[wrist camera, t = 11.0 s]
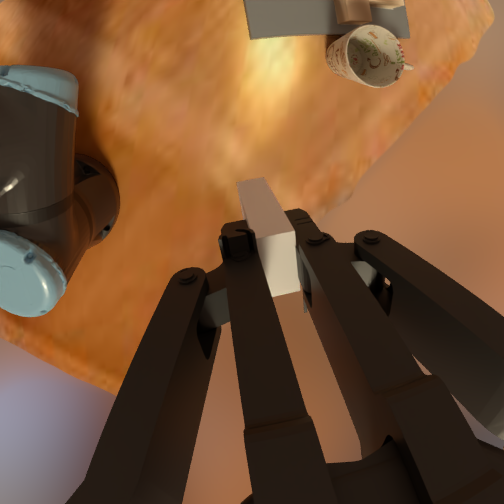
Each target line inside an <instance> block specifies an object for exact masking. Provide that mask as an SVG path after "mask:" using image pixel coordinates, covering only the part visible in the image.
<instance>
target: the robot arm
mask: <svg viewBox="0 0 504 504" xmlns="http://www.w3.org/2000/svg"><path fill="white" fill-rule="evenodd" d="M78 89H79V86H78V81H77V79H76V77H75V76H74V75H73V74H72V73H70V72H68V71H65V70H61V69H56V68H50V67H42V66H30V65H12V66H8V65H5V66H0V307H1V308H3V309H4V310H6V311H8V312H10V313H13V314H16V315H19V316H24V317H37V316H41V315H44V314H46V313H47V312H49V311H50V310H51V309H52V308H53V307H54V306H55V304H56V303H57V302H58V300H59V299H60V297H61V296H63V294H64V293H65V290H66V287H67V284H68V282H69V280H70V278H71V277H72V275H73V273H74V271H75V269H76V267H77V266H78V264H79V262H80V260H81V258H82V257H83V255H84V253H85V251H86V250H87V249H89V248H91V247H93V246H95V245H97V244H98V243H100V242H101V241H102V240H103V239H104V238H106V236H107V235H108V234H109V233H110V231H111V230H112V228H113V226H114V224H115V222H116V220H117V218H118V214H119V209H120V197H119V191H118V188H117V185H116V183H115V180H114V179H113V177H112V175H111V174H110V172H109V171H108V170H107V169H106V168H105V167H104V166H103V165H102V164H101V163H100V162H98V161H97V160H95V159H93V158H91V157H89V156H85V155H81V154H75V134H76V120H77V117H78V116H79V112H78V110H77V104H78ZM237 188H238V193H239V199H240V204H241V210H242V215H243V220H240V221H235V222H231V223H226V224H224V226H223V227H222V229H221V235H220V236H219V239H218V242H219V246H220V250H221V254H222V258H223V263H222V264H221V265H220V266H219V267H218V268H216V269H215V270H213V271H211V272H208V273H205V271H204V270H203V269H201V268H197V267H191V268H185V269H182V270H180V271H178V272H177V273H175V274H174V275H173V276H172V278H171V279H170V281H169V283H168V285H167V287H166V289H165V291H164V293H163V295H162V297H161V299H160V301H159V304H158V306H157V308H156V310H155V312H154V314H153V316H152V318H151V320H150V323H149V325H148V327H147V329H146V331H145V333H144V336H143V338H142V340H141V342H140V344H139V347H138V349H137V351H136V353H135V355H134V358H133V360H132V362H131V364H130V367H129V369H128V371H127V374H126V376H125V378H124V381H123V383H122V385H121V388H120V390H119V392H118V395H117V397H116V400H115V402H114V404H113V407H112V409H111V412H110V414H109V417H108V419H107V422H106V424H105V427H104V429H103V432H102V434H101V437H100V439H99V442H98V445H97V447H96V450H95V453H94V455H93V458H92V460H91V463H90V466H89V469H88V471H87V474H86V477H85V480H84V481H83V482H82V484H81V485H80V486H79V487H78V489H77V490H76V491H75V492H74V493H73V495H72V496H71V497H70V499H69V500H68V501H67V502H66V503H65V504H182V501H183V496H184V492H185V487H186V483H187V478H188V474H189V469H190V464H191V460H192V456H193V451H194V447H195V442H196V438H197V434H198V429H199V425H200V421H201V416H202V412H203V407H204V403H205V398H206V394H207V390H208V386H209V381H210V377H211V373H212V369H213V364H214V360H215V356H216V351H217V347H218V343H219V339H220V335H221V325H223V324H225V323H227V322H230V323H231V331H232V338H233V346H234V352H235V361H236V368H237V375H238V381H239V389H240V396H241V403H242V409H243V416H244V423H245V429H244V442H245V449H246V455H247V462H248V468H249V474H250V481H251V487H252V494H251V495H249V496H248V497H247V498H246V499H245V500H244V501H242V502H241V504H504V447H503V450H502V449H500V448H497V447H494V446H493V445H490V444H488V443H486V442H483V441H481V440H479V439H477V438H476V437H475V435H474V434H473V431H472V430H471V428H470V426H469V424H468V423H467V421H466V419H465V417H464V415H463V414H462V412H461V410H460V409H459V407H458V405H457V403H456V402H455V400H454V399H453V397H452V395H453V396H454V397H455V398H456V399H457V400H458V401H459V402H460V403H461V404H462V405H463V406H464V407H465V408H466V409H467V410H468V411H469V412H470V413H471V414H472V415H473V416H474V417H475V419H476V420H478V421H479V422H480V423H481V424H482V425H483V426H484V427H485V428H486V429H488V430H489V431H490V432H491V433H493V434H494V435H496V436H497V437H499V438H501V439H502V440H504V317H503V316H502V315H501V314H499V313H498V312H497V311H495V310H494V309H493V308H492V307H490V306H489V305H488V304H486V303H485V302H484V301H482V300H481V299H479V298H478V297H477V296H475V295H474V294H473V293H471V292H470V291H469V290H467V289H466V288H464V287H463V286H462V285H460V284H459V283H457V282H456V281H455V280H453V279H452V278H450V277H449V276H447V275H446V274H445V273H443V272H442V271H440V270H439V269H437V268H436V267H434V266H433V265H431V264H430V263H428V262H427V261H425V260H424V259H422V258H421V257H419V256H418V255H416V254H415V253H413V252H412V251H410V250H409V249H407V248H406V247H404V246H403V245H401V244H399V243H398V242H396V241H395V240H393V239H392V238H390V237H388V236H387V235H385V234H383V233H381V232H379V231H374V230H366V231H362V232H359V233H358V234H356V236H355V237H354V243H338V242H336V241H335V240H334V238H333V237H331V236H330V235H329V234H327V233H324V232H321V231H320V230H319V229H318V227H317V226H316V224H315V223H314V222H313V220H312V219H311V218H310V216H309V215H308V213H307V212H306V211H304V210H302V209H300V208H298V209H293V210H288V211H283V209H282V207H281V206H280V204H279V202H278V200H277V199H276V197H275V195H274V194H273V192H272V190H271V188H270V187H269V185H268V183H267V182H266V180H265V178H264V177H262V178H256V179H251V180H246V181H240V182H237ZM385 277H386V278H387V279H388V280H389V281H390V286H389V285H387V284H386V283H385ZM300 283H301V285H302V287H303V301H304V313H305V312H307V308H308V311H309V313H310V315H311V318H312V320H313V323H314V325H315V327H316V330H317V333H318V335H319V337H320V340H321V342H322V345H323V347H324V350H325V352H326V355H327V357H328V360H329V362H330V365H331V367H332V369H333V372H334V375H335V377H336V380H337V382H338V385H339V388H340V390H341V393H342V395H343V397H344V400H345V403H346V406H347V408H348V411H349V413H350V416H351V419H352V421H353V424H354V426H355V429H356V432H357V434H358V437H359V440H360V445H361V455H362V460H359V461H355V462H342V463H326V462H325V459H324V456H323V452H322V449H321V446H320V442H319V439H318V436H317V433H316V429H315V426H314V424H313V420H312V419H311V417H310V416H309V415H308V413H307V411H306V408H305V405H304V401H303V398H302V395H301V391H300V388H299V384H298V381H297V378H296V374H295V371H294V368H293V364H292V361H291V358H290V354H289V351H288V348H287V345H286V342H285V338H284V335H283V332H282V328H281V325H280V322H279V318H278V315H277V312H276V308H275V305H274V302H273V299H272V297H274V296H278V295H283V294H287V293H292V292H297V291H300ZM412 355H413V356H414V357H415V358H416V359H417V360H418V361H419V362H420V363H422V365H423V366H424V367H425V368H426V369H427V370H429V372H430V373H431V374H432V375H425V374H424V373H423V372H422V371H421V369H420V367H419V366H418V364H417V362H416V361H415V359H414V357H413V356H412ZM451 394H452V395H451Z"/></svg>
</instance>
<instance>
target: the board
mask: <svg viewBox="0 0 504 504" xmlns="http://www.w3.org/2000/svg"><path fill="white" fill-rule="evenodd" d="M243 1H244V7H245V13H246V18H247V24H248V30H249V36H250V40H253V39H262V38H273V37H286V36H304V35H346V34H347V33H349V32H350V31H352V30H354V29H355V28H357V27H360V26H363V25H377V26H381V27H383V28H385V29H387V30H388V31H390V32H391V33H392V34H393V35H394V36H395V37H396V38H402V39H408V38H410V32H409V25H408V19H407V13H406V7H405V2H404V6H400V7H396V8H392V9H387V8H378V7H370V11H371V16H372V22H368V23H365V24H361V25H350V24H338V23H337V17H336V11H335V5H334V0H243Z"/></svg>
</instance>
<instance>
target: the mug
mask: <svg viewBox="0 0 504 504" xmlns="http://www.w3.org/2000/svg"><path fill="white" fill-rule="evenodd" d="M326 61H327V64H328V66H329V68H330V69H331V70H332V71H333V72H334V73H335V74H337V75H339V76H341V77H344V78H347V79H350V80H353V81H356V82H359V83H361V84H364V85H367V86H370V87H376V88H383V87H387V86H390V85H392V84H393V83H395V82H396V81H397V80H398V79H399V77H400V76H401V74H402V72H403V70H413V69H414V67H413V66H412V65H410V64H407V63H404V53H403V49H402V47H401V45H400V43H399V41H398V40H397V38H396V37H395V36H394V35H393V34H392V33H391V32H390V31H388V30H387V29H385V28H383V27H381V26H377V25H363V26H360V27H357V28H355V29H354V30H352V31H350V32H349V33H347V34H346V35H344V36H342V37H341V38H339V39H338V40H336V41H334V42H333V43H332V44H331V45H330V46H329V47H328V49H327V52H326Z"/></svg>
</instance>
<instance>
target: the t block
mask: <svg viewBox="0 0 504 504" xmlns="http://www.w3.org/2000/svg"><path fill="white" fill-rule="evenodd" d="M334 5H335V11H336V17H337V23H338V24H350V25H361V24H365V23H368V22H372V16H371V11H370V7H378V8H387V9H392V8H396V7H400V6H404V0H334Z"/></svg>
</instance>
